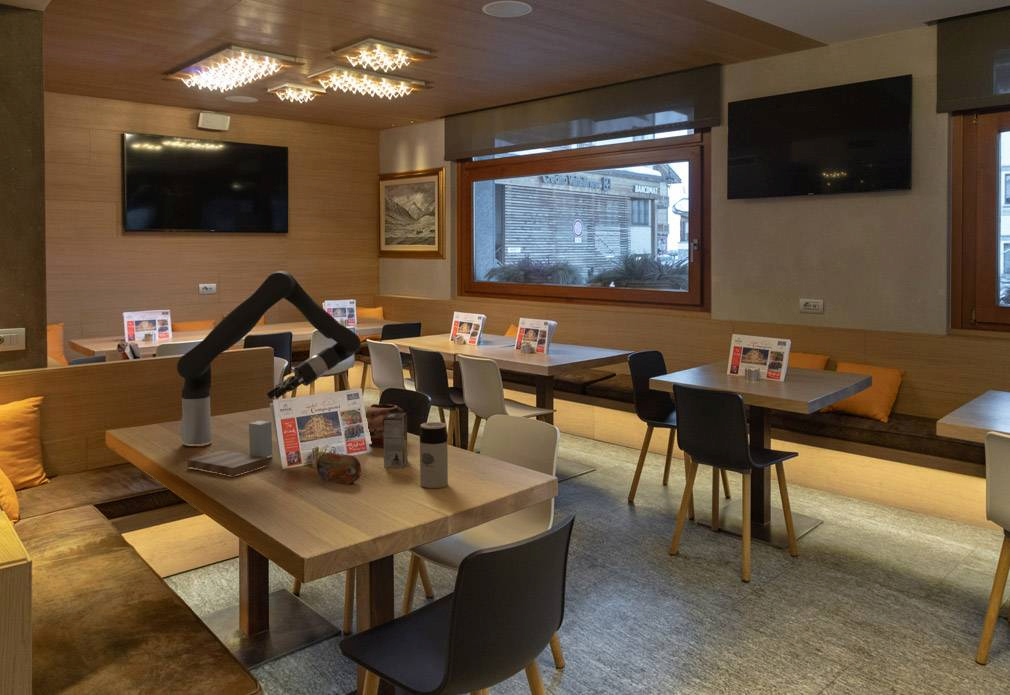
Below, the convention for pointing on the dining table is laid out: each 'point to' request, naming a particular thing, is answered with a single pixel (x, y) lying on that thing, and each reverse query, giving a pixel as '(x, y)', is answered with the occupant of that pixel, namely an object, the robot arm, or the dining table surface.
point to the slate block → (260, 438)
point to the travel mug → (433, 455)
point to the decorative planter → (379, 421)
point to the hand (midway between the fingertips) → (271, 396)
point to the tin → (338, 468)
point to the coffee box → (395, 440)
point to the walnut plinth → (228, 462)
